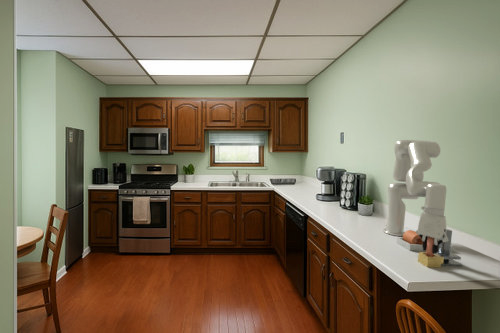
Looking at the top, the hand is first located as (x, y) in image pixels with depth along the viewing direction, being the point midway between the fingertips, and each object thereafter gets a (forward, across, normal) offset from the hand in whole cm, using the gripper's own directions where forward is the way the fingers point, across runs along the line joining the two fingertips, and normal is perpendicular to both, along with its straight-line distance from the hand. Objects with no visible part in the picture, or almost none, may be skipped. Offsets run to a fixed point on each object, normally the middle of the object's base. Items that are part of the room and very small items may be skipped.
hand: (430, 251), depth 127 cm
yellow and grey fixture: (+6, 0, +7) cm, 9 cm away
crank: (+7, -14, +24) cm, 29 cm away
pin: (+4, 0, 0) cm, 4 cm away
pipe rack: (+6, -14, +23) cm, 28 cm away
